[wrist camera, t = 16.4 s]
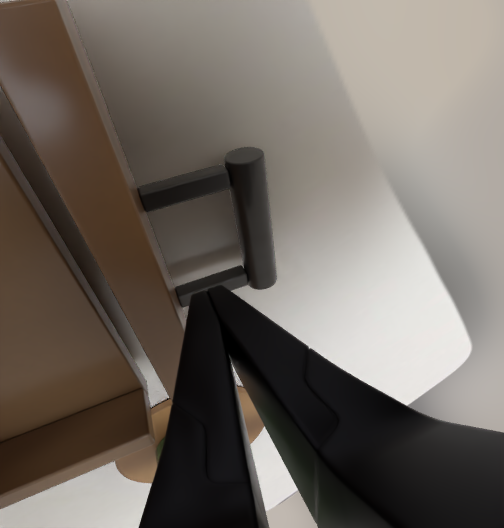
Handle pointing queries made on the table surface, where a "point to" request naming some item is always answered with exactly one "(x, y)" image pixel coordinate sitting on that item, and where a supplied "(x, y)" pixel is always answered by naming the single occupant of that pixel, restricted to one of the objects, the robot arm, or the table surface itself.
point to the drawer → (106, 256)
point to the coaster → (144, 460)
